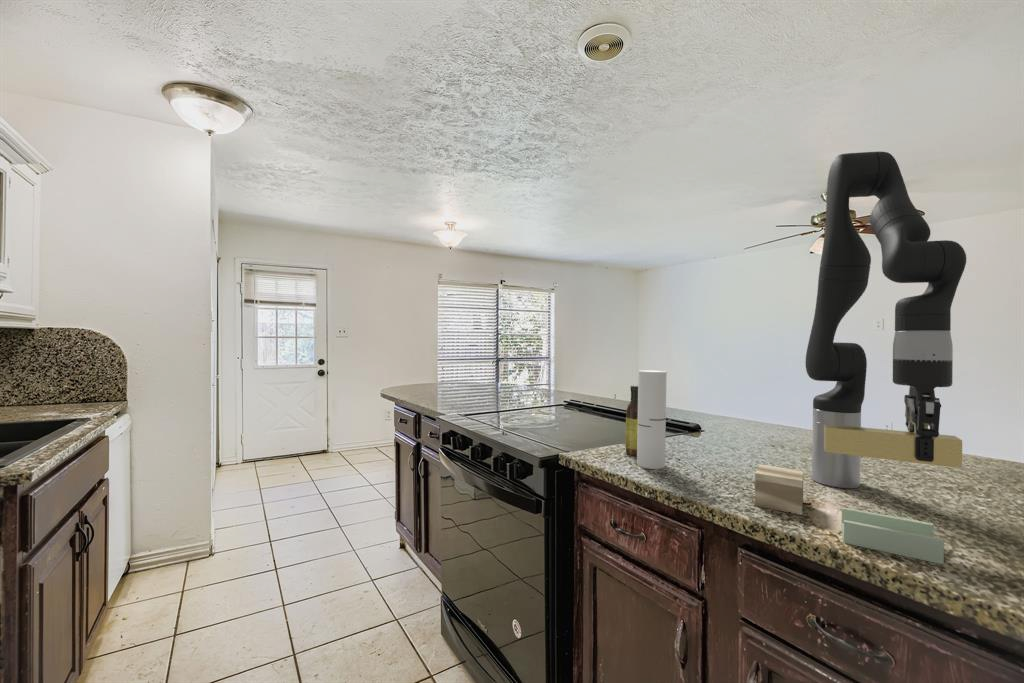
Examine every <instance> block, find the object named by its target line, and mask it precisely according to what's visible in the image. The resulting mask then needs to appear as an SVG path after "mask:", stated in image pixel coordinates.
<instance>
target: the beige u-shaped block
mask: <svg viewBox="0 0 1024 683" xmlns="http://www.w3.org/2000/svg"><path fill="white" fill-rule="evenodd" d="M754 475H755V476H754V484H755V485H754V506H755V507H759V508H766V509H769V508H770V509H771V510H774V511H779V510H780V512H786V513H789V512H791V514H795V513H796V514H795V515H801V516H802V515H803V504H804V470H802V469H795V468H794V469H793V468H788V467H779V466H774V465H767V464H761V463H759V464H758V466H757V469H756V470H755V473H754ZM770 509H769V510H770Z"/></svg>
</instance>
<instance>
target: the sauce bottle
mask: <svg viewBox="0 0 1024 683" xmlns="http://www.w3.org/2000/svg"><path fill="white" fill-rule="evenodd" d="M625 414H626V417H625V440H624V441H625V443H624V444H625V445H624V446H625V453H626V454H627V455H629V456H634V457H637V431H638V385H630V401H629V404H628V405H627V407H626V412H625Z"/></svg>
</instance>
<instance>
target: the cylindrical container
mask: <svg viewBox="0 0 1024 683" xmlns="http://www.w3.org/2000/svg"><path fill="white" fill-rule="evenodd" d="M637 372H638V375H637V376H638V378H637V380H638V381H637V386H638V431H637V456H636V465H637V466H639V467H641V468H644V469H649V470H650V469H652V470H658V469H659V470H661V469H664V468H665V467H666V432H667V431H666V430H667V428H666V424H667V419H666V417H667V375H668V374H667V371H665V370H655V369H654V370H652V369H643V370H640V369H639V370H638V371H637Z"/></svg>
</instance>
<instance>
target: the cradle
mask: <svg viewBox="0 0 1024 683" xmlns="http://www.w3.org/2000/svg"><path fill="white" fill-rule="evenodd" d="M840 526H841V534H842V539H843V543H844V544H847V545H852V546H858V547H861V548H867V549H871V550H875V551H881V552H885V553H889V554H893V555H898V556H903V557H907V558H911V559H917V560H922V561H926V562H931V563H934V564H940V565H944V562H945V560H944V559H945V556H944V555H945V541H944V539H943V538H939V537H935V536H934V530H935V526H934V524H933V523H932V522H927V521H921V520H916V519H911V518H910V519H909V518H904V517H899V516H895V515H894V516H893V515H887V514H883V513H877V512H872V511H866V510H860V509H855V508H849V507H844V506H842V507H841V525H840Z"/></svg>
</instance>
